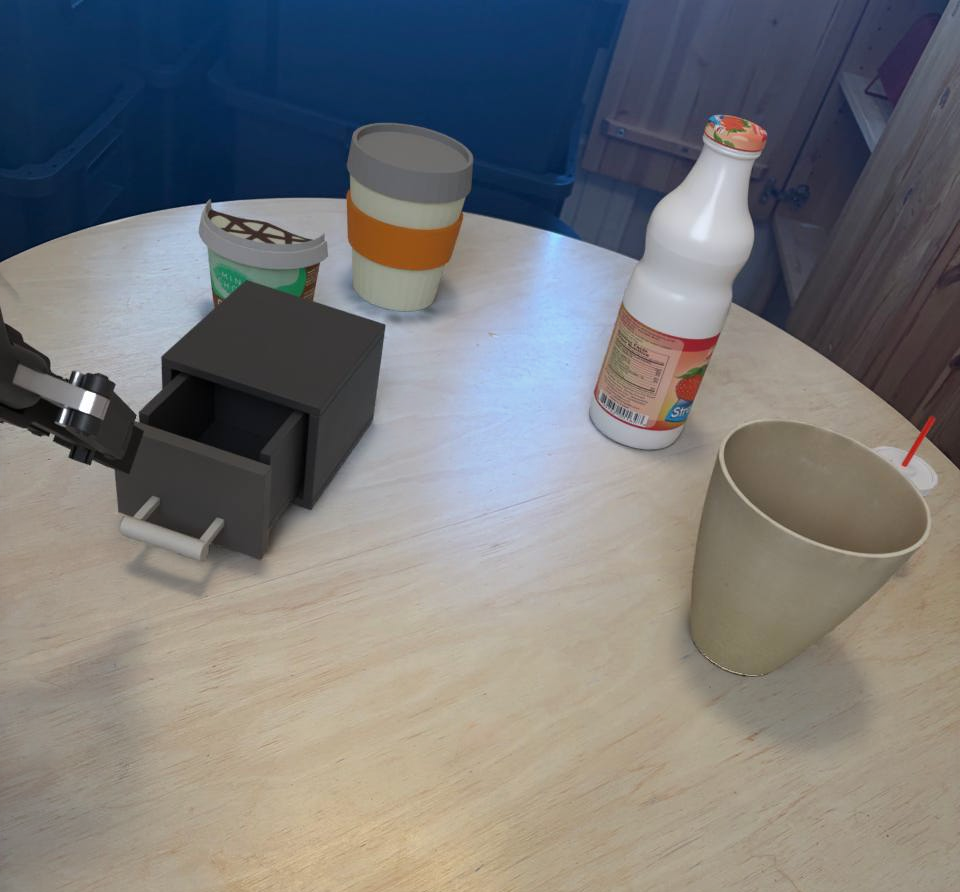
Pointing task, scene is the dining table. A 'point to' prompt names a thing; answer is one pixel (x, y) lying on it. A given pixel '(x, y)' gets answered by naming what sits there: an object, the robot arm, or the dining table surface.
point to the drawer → (211, 469)
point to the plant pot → (795, 540)
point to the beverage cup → (913, 462)
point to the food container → (258, 255)
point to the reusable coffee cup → (404, 211)
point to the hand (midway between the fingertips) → (124, 448)
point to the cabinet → (291, 368)
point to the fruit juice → (679, 293)
